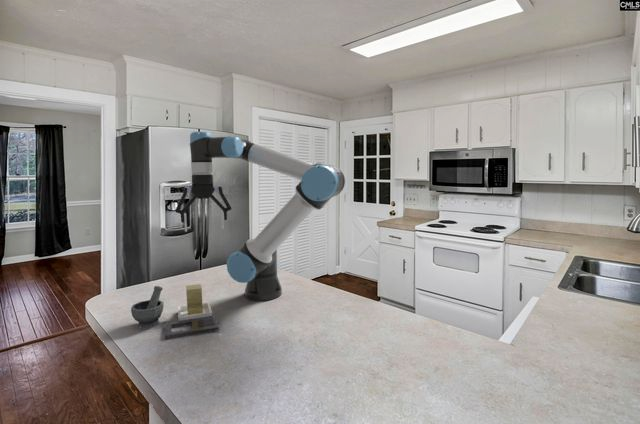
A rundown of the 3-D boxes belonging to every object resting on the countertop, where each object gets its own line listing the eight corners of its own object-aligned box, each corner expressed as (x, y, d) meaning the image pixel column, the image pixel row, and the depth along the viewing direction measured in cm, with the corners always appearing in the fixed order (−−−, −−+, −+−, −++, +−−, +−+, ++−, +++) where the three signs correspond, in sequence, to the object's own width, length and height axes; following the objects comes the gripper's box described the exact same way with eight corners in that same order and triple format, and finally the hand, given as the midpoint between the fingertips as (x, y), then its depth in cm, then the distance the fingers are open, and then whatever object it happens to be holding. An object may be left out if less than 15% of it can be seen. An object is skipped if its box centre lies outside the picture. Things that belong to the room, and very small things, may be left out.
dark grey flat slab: (215, 318, 126) (215, 315, 126) (218, 330, 116) (218, 326, 116) (165, 326, 120) (165, 322, 120) (164, 339, 111) (164, 335, 110)
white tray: (209, 307, 136) (209, 302, 136) (212, 318, 126) (212, 312, 125) (178, 312, 132) (178, 306, 132) (178, 323, 122) (178, 317, 121)
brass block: (202, 310, 132) (200, 284, 131) (202, 315, 127) (201, 288, 126) (187, 312, 130) (186, 285, 129) (187, 317, 126) (186, 290, 124)
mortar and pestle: (147, 332, 115) (145, 296, 114) (125, 328, 119) (123, 293, 117) (173, 319, 126) (171, 285, 124) (152, 315, 129) (150, 283, 128)
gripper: (234, 173, 144) (236, 226, 146) (166, 174, 135) (169, 230, 137) (237, 173, 137) (239, 228, 140) (166, 174, 128) (169, 233, 130)
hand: (204, 229), depth 138 cm, fingers open, 13 cm apart
